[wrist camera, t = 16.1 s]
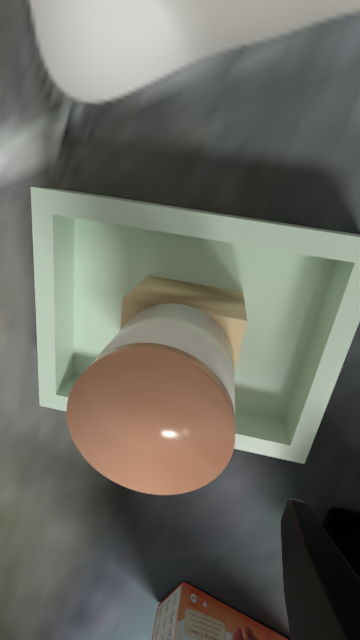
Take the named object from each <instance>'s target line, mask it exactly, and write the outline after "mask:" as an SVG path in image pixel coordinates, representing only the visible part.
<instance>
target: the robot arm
mask: <svg viewBox="0 0 360 640" xmlns="http://www.w3.org/2000/svg"><path fill="white" fill-rule="evenodd" d="M281 541H282V561H283V581H284V593H285V602H286V609H287V616H288V622H289V629H290V636H291V640H360V514H357V513H353V512H348V511H344V510H340V509H332V510H330V511H329V513H328V515H327V518H326V520H325V522H324V524H323V526H322V525H321V524H320V522H319V521H318V519H317V518H316V516H315V515H314V513H313V512H312V511H311V509H310V508H309V506H308V505H307V503H305V502H304V501H302V500H298V499H293V498H290V499H289V500H288V502H287V505H286V508H285V510H284V513H283V515H282V519H281Z"/></svg>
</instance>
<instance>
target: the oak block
mask: <svg viewBox="0 0 360 640" xmlns="http://www.w3.org/2000/svg"><path fill="white" fill-rule="evenodd" d="M159 304H182V305H186V306H190V307H193V308H196V309H198V310H200V311H202V312H204V313H206V314H207V315H209V316H210V317H211V318H213V319H214V320H215V321H216V322H217V323H218V324H219V325H220V326H221V327H222V329H223V330H224V331H225V333H226V334H227V336H228V338H229V340H230V342H231V345H232V348H233V352H234V367H235V371H236V367H237V362H238V358H239V354H240V350H241V345H242V341H243V337H244V333H245V329H246V324H247V315H246V308H245V301H244V294H243V292H241V291H235V290H229V289H224V288H218V287H212V286H206V285H201V284H195V283H189V282H183V281H178V280H172V279H166V278H160V277H155V276H149V275H148V276H147V277H146V278H145V279H143V280H142V281H141V282H140V283H139V284H138V285H137V286H135V287H134V288H133V289H132V290H131V291H130V292H129V293H128V294H126V295H125V296H124V297H123V298H122V310H121V324H120V330H121V329H122V328H123V327H124V326H125V325H126V324H127V322H128V321H129V320H130V319H131V318H132V317H133V316H135V315H136V314H137V313H139V312H140V311H142V310H144V309H146V308H149V307H151V306H155V305H159Z"/></svg>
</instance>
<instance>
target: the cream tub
mask: <svg viewBox="0 0 360 640" xmlns="http://www.w3.org/2000/svg"><path fill="white" fill-rule="evenodd" d="M66 413H67V423H68V428H69V431H70V434H71V437H72V439H73V441H74V443H75V445H76V447H77V448H78V450H79V451H80V453H81V454H82V455H83V457H84V458H85V459H86V460H87V461H88V462H89V463H90V464H91V465H92V466H93V467H94V468H95V469H96V470H97V471H98V472H100V473H101V474H102V475H104V476H105V477H107V478H108V479H110V480H112V481H113V482H115V483H117V484H119V485H121V486H124V487H126V488H129V489H132V490H135V491H138V492H142V493H147V494H155V495H175V494H182V493H187V492H190V491H193V490H196V489H199V488H201V487H203V486H205V485H207V484H208V483H210V482H211V481H213V480H214V479H215V478H216V477H217V476H218V475H220V473H221V472H222V471H223V470H224V469H225V467H226V466H227V464H228V462H229V461H230V458H231V456H232V453H233V450H234V445H235V367H234V352H233V348H232V345H231V342H230V340H229V338H228V336H227V334H226V333H225V331H224V330H223V329H222V327H221V326H220V325H219V324H218V323H217V322H216V321H215V320H214V319H213V318H211V317H210V316H209V315H207V314H206V313H204V312H202V311H200V310H198V309H196V308H193V307H190V306H186V305H182V304H159V305H155V306H151V307H149V308H146V309H144V310H142V311H140V312H139V313H137V314H136V315H135V316H133V317H132V318H131V319H130V320H129V321H128V322H127V324H126V325H125V326H124V327H123V328H122V329H121V330H120V331H119V333H118V334H117V335H116V336H115V337H114V338H113V339H112V340H111V342H110V343H109V344H108V345H107V346H106V347H105V348H104V350H103V351H102V352H101V353H100V354H99V355H98V356H97V357H96V359H95V360H94V361H93V362H92V363H91V364H90V365H89V366H88V368H87V369H86V370H85V371H84V372H83V373H82V374H81V376H80V377H79V378H78V379H77V381H76V382H75V384H74V385H73V387H72V389H71V392H70V394H69V398H68V401H67V410H66Z"/></svg>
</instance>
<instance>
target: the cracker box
mask: <svg viewBox="0 0 360 640" xmlns="http://www.w3.org/2000/svg"><path fill="white" fill-rule="evenodd" d="M152 640H289V639H287V638H286V637H284V636H282V635H280V634H278V633H276V632H275V631H273V630H271V629H269V628H267V627H266V626H264V625H262V624H260V623H258V622H256V621H255V620H253V619H251V618H249V617H247V616H246V615H244V614H242V613H240V612H238V611H236V610H235V609H233V608H231V607H229V606H228V605H226V604H224V603H222V602H220V601H218V600H217V599H215V598H213V597H211V596H209V595H208V594H206V593H204V592H202V591H201V590H199V589H197V588H195V587H193V586H192V585H190V584H188V583H186V582H184V581H183V582H182V583H181V584H180V585H179V586H178V587H177V588H176V589H175V590H174V591H173V592H172V593H171V594H170V595H169V596H167V597H166V598H165V599H164V600H163V601H162V602H161V603H160V604H159V605H158V609H157V614H156V619H155V624H154V630H153V636H152Z"/></svg>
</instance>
